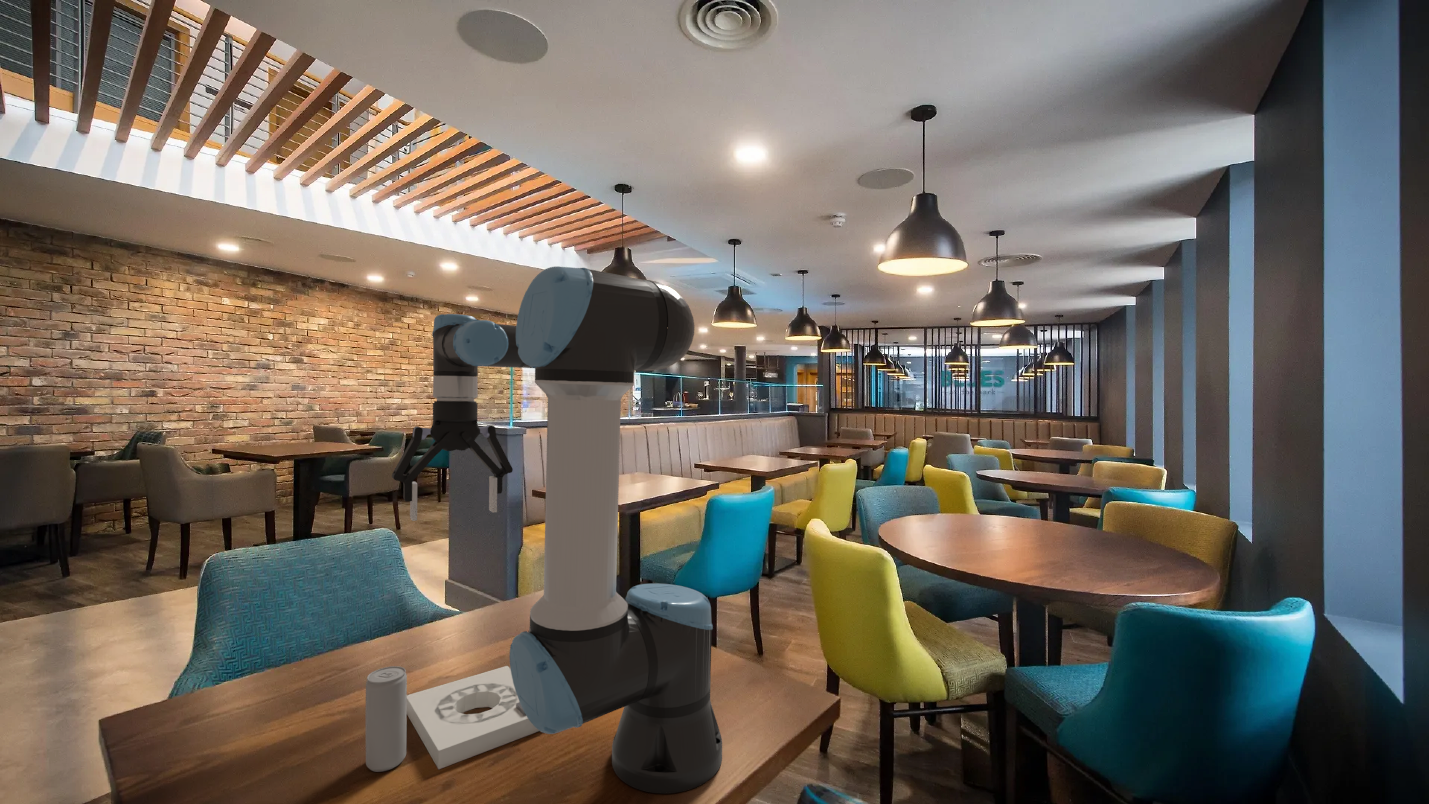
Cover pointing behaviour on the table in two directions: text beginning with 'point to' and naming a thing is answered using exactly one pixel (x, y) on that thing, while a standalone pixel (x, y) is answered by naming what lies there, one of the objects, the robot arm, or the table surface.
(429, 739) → the socket plate
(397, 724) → the beverage can
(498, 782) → the table surface
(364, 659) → the table surface
